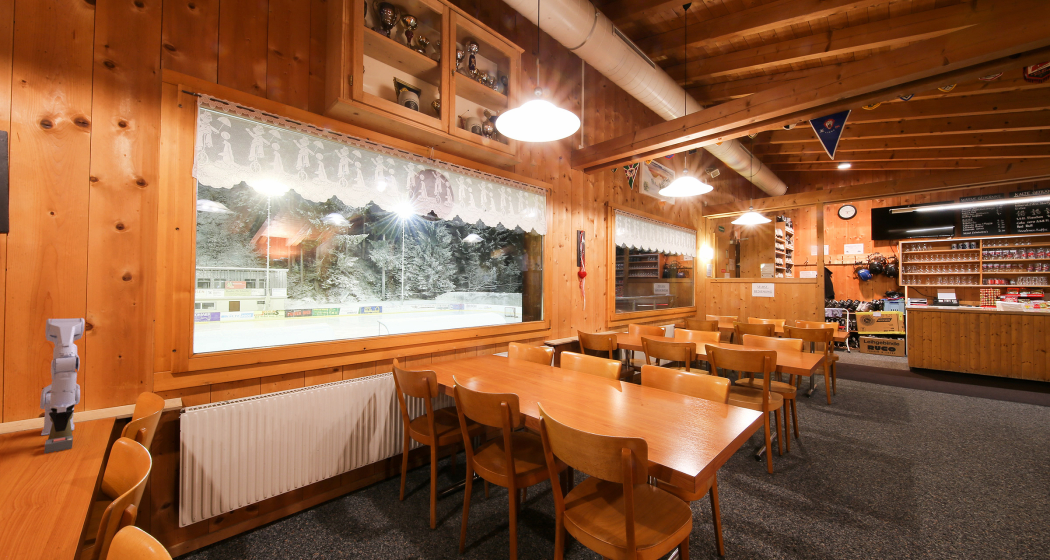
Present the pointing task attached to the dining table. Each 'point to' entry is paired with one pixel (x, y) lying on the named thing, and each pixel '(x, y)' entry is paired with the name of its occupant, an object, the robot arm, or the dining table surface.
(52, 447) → the block
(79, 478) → the dining table surface
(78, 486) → the dining table surface
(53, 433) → the cork
